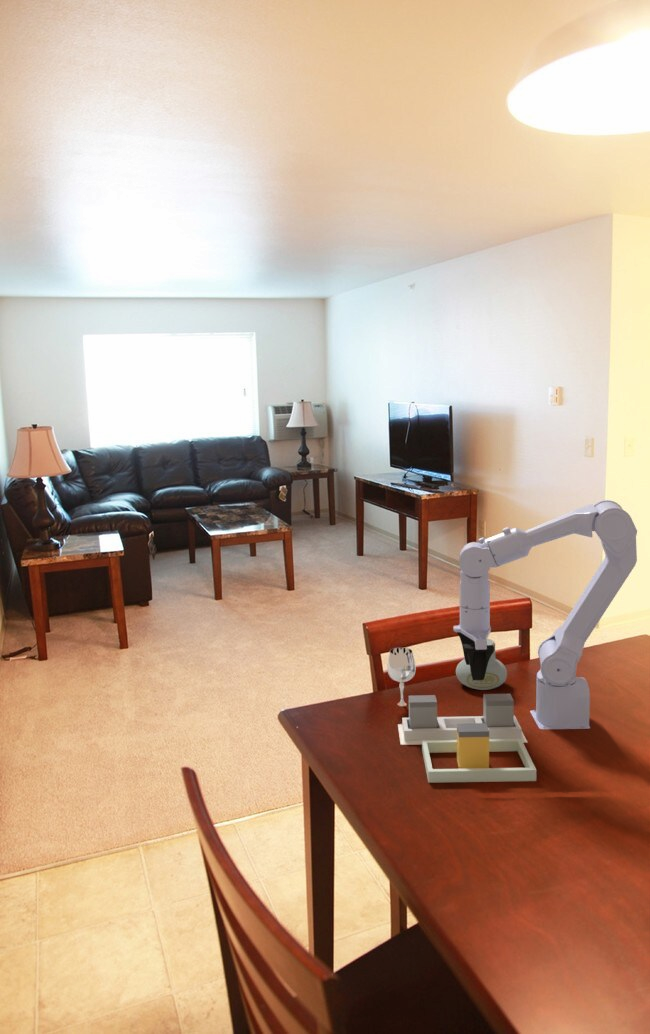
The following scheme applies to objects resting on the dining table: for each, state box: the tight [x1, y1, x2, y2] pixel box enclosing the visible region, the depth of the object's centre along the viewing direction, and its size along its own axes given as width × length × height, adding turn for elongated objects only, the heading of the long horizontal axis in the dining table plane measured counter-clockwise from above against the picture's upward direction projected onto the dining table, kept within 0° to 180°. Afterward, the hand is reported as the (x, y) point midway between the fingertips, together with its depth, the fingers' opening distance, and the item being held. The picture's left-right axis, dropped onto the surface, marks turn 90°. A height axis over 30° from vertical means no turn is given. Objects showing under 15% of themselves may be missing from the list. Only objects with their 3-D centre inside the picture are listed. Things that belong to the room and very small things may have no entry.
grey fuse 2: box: [482, 693, 515, 727], centre depth 133 cm, size 5×3×7 cm, turn 88°
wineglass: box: [386, 646, 417, 707], centre depth 146 cm, size 6×6×12 cm
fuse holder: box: [397, 715, 529, 746], centre depth 133 cm, size 23×8×3 cm, turn 88°
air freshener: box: [455, 638, 508, 691], centre depth 155 cm, size 11×8×10 cm
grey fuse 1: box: [408, 694, 438, 729], centre depth 133 cm, size 5×3×7 cm, turn 88°
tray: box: [421, 739, 537, 784], centre depth 122 cm, size 18×11×2 cm, turn 88°
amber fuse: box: [456, 723, 490, 769], centre depth 122 cm, size 5×3×7 cm, turn 88°
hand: (474, 671), depth 140 cm, fingers open, 7 cm apart
